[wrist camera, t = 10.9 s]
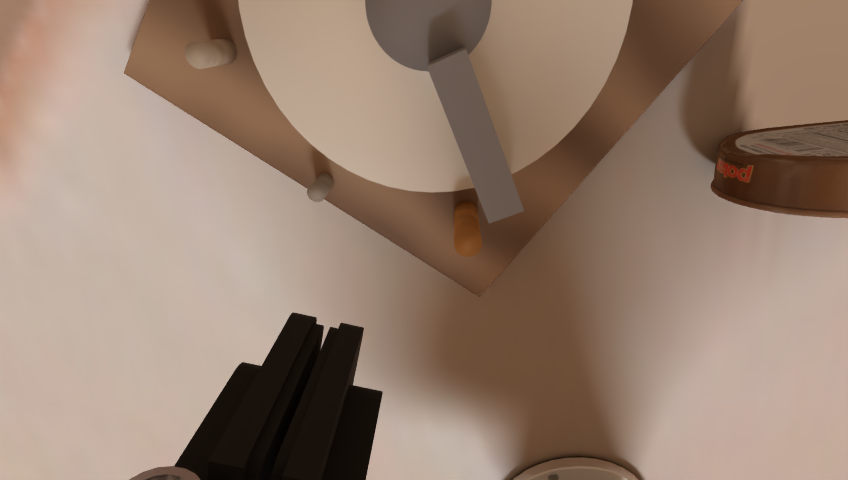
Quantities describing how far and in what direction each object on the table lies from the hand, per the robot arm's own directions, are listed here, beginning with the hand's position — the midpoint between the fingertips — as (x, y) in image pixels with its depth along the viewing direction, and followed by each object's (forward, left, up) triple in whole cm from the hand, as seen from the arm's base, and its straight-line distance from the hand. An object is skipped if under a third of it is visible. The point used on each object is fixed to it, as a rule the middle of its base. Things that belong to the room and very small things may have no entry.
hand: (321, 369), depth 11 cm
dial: (+8, +3, -17) cm, 19 cm away
